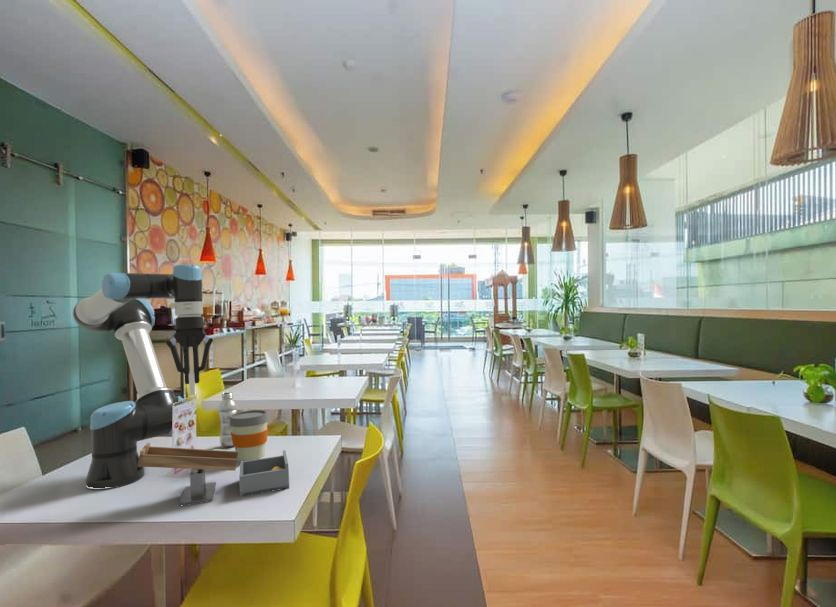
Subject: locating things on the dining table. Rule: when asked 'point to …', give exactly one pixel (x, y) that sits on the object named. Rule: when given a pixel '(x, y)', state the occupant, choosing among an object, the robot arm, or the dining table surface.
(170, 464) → the chute
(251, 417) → the reusable coffee cup
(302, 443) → the dining table surface
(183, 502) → the stand
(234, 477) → the dining table surface
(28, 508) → the dining table surface
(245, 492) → the grey tray
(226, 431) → the plastic bottle
